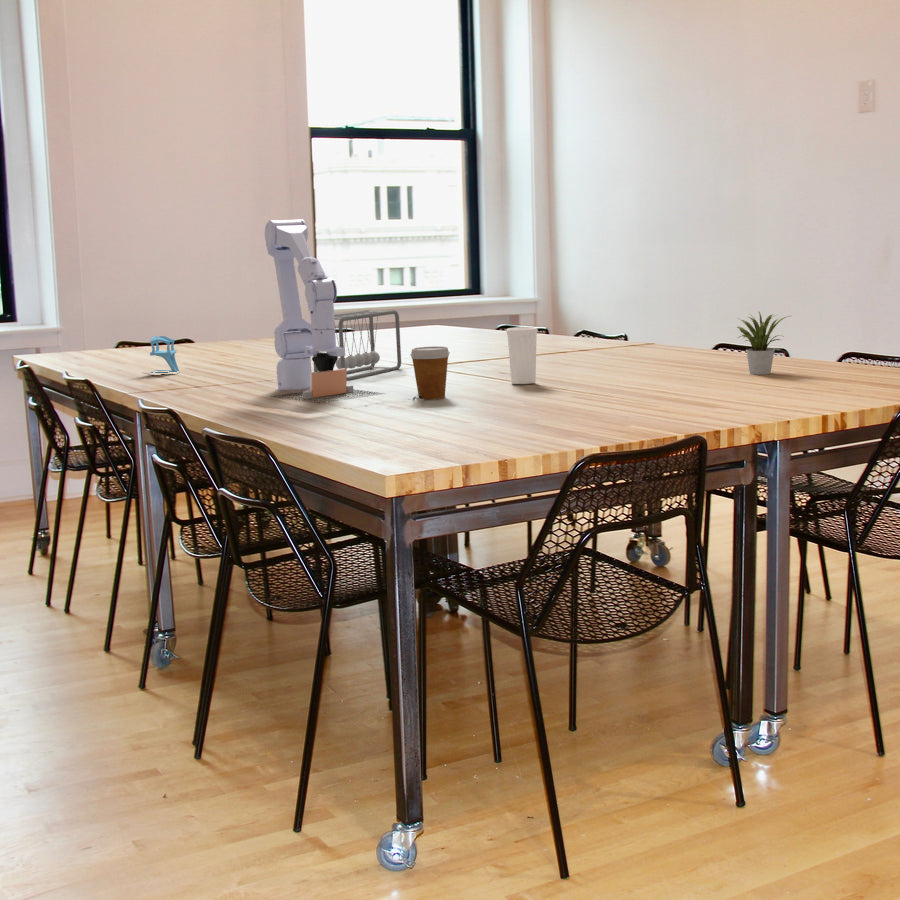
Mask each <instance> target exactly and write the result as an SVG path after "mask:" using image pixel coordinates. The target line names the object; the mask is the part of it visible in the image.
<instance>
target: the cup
mask: <svg viewBox="0 0 900 900" xmlns="http://www.w3.org/2000/svg"><path fill="white" fill-rule="evenodd" d="M538 331H539V329H538V327H536V326H535V327H534V326H521V327H520V326H519V327H516V326H515V327H509V328H506V335H507V342H508V357H509V369H510V382H511V384H514V385H526V384H527V385H528V384H529V385H530V384H534V383H536V380H537V335H538Z"/></svg>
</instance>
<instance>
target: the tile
mask: <svg viewBox="0 0 900 900" xmlns="http://www.w3.org/2000/svg"><path fill="white" fill-rule="evenodd" d="M347 370H348V368H347V369H345V368H343V369H338V368H337V369H335V368H334V369H333V370H328V371H320V372H319V371H318V372H314V371H313V372H312V371H311V372H312V373H311V377H310V388H309V389H310V390H309V391H310V392H312V398H314V399H315V398H320V397H321V398H322V397H323V396H324V397H329V396H334V395H335V394H338V395H339V394H340V395H342V394H341V393H346V386H347V381H346V379H347V377H348V376H347V375H348V374H347ZM346 394H347V393H346ZM312 398H311V399H312Z"/></svg>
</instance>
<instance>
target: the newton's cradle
mask: <svg viewBox="0 0 900 900" xmlns="http://www.w3.org/2000/svg"><path fill="white" fill-rule="evenodd" d="M387 315H388V316H389V315H394V320H395V337H396V357H397V358H396V359H397V362H396V363H397V364H396V365H395V366H392V367H391V366H386V367H385V366H376V364H378V362H379V361H380V358H381V357H380V354H379V353H378V352H377V351H375V349H376V343H375V340H376V338H377V333H375V332H374V317H377V318H376V321H379V319H378V318H379V317H381V316H387ZM361 319H362V320H361ZM366 319H368V320H369V321H368V322H369V323H368V324H369V326H368V325H367V320H366ZM335 320H336V321H337V320H338V325H337V326H338V331H335V335H338V336H336V339H337V340H338V341H337V344H338V345H339V347H341V348H345V349H346V347H347V350H348V351H347V352H348V356H340V357H338V359H337V361H336V363H335V367H336V368H337V369H343V368H345V369H347V375H351V374H356V373H359V374H356V375H351V376H347V379H346V382H348V381H349V382H350V381H354V380H357V379H362V378H367V377H371V376H376V375H380V374H385V373H389V372H394V371H398V370H399V369H400V368H401V366H402V351H401V350H402V349H401V332H400V316H399V313H398V311H397V310H396V309H395V310H394V309H391V310H385V311H384V310H382V311H370V310H361V311H360V310H359V311H351V312H345V313H344V312H343V313H338V314H337V313H335V314H334V321H335ZM352 320H353V321H357V323H358V328H359V333H360V339H359V340H360V341H359V346H361V344H362V347H363V353H362V354H361V348H359V349H358V350H359V351H358V350H357V345H356V341H355V333H354V331H355V330H356V329H355V328H356V323H354V326H352V325H350V327H351V332H352V341H353V343H354V344H351V345H352V346H351V351H353V349H354V346H355V350H356V351H355V352H356V354H355V355H353V354H350V353H351V352H350V350H349V349H350V348H349V345H348V340H347V334H344V333H346V332H347V330H348V325H346V327H345V326H344V322H346V323H348V321H349V322H350V324H352V323H351V321H352ZM359 320H361V326H363V324H364V323H363V322H364V320H365V326H366V327H368V328H366V329H367V339H368V341H369V342H367V343H366V349H368V345H370V352H368V351H366V349H365V347H364V342H363V336H362V335H363V334H362V332H363V328H361V327H360V323H359ZM337 326H336V325H335V330H337ZM377 328H378V324H376V326H375V331H377V330H378V329H377ZM345 329H346V330H345ZM337 332H338V334H337ZM374 333H375V334H374ZM346 345H347V346H346ZM316 356H317V354H313V357H316ZM312 362H313V361H312ZM356 367H357V368H356ZM369 369H370V370H372V369H377V370H374V371H369ZM364 371H369V372H364ZM313 372H319V371H318V369H317V367H316V365H315V363H314V362H313ZM355 372H356V373H355ZM360 372H364V373H360Z"/></svg>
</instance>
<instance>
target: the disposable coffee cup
mask: <svg viewBox="0 0 900 900" xmlns="http://www.w3.org/2000/svg"><path fill="white" fill-rule="evenodd" d="M409 356H411V357H410V358H411V359H412V360H411V361H412V364H413V370H414V371H413V372H414V376H415V384H416V388H417V394H418V399H419V400H427V401H428V400H430V401H433V400H441V399H442V400H443V399H444V398H445V397H446V390H447V389H446V385H447V376H448V375H447V374H448V362H449V356H450V351H449V348H448V346H420V347H413V348H412V349H411V353H410V354H409Z"/></svg>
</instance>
